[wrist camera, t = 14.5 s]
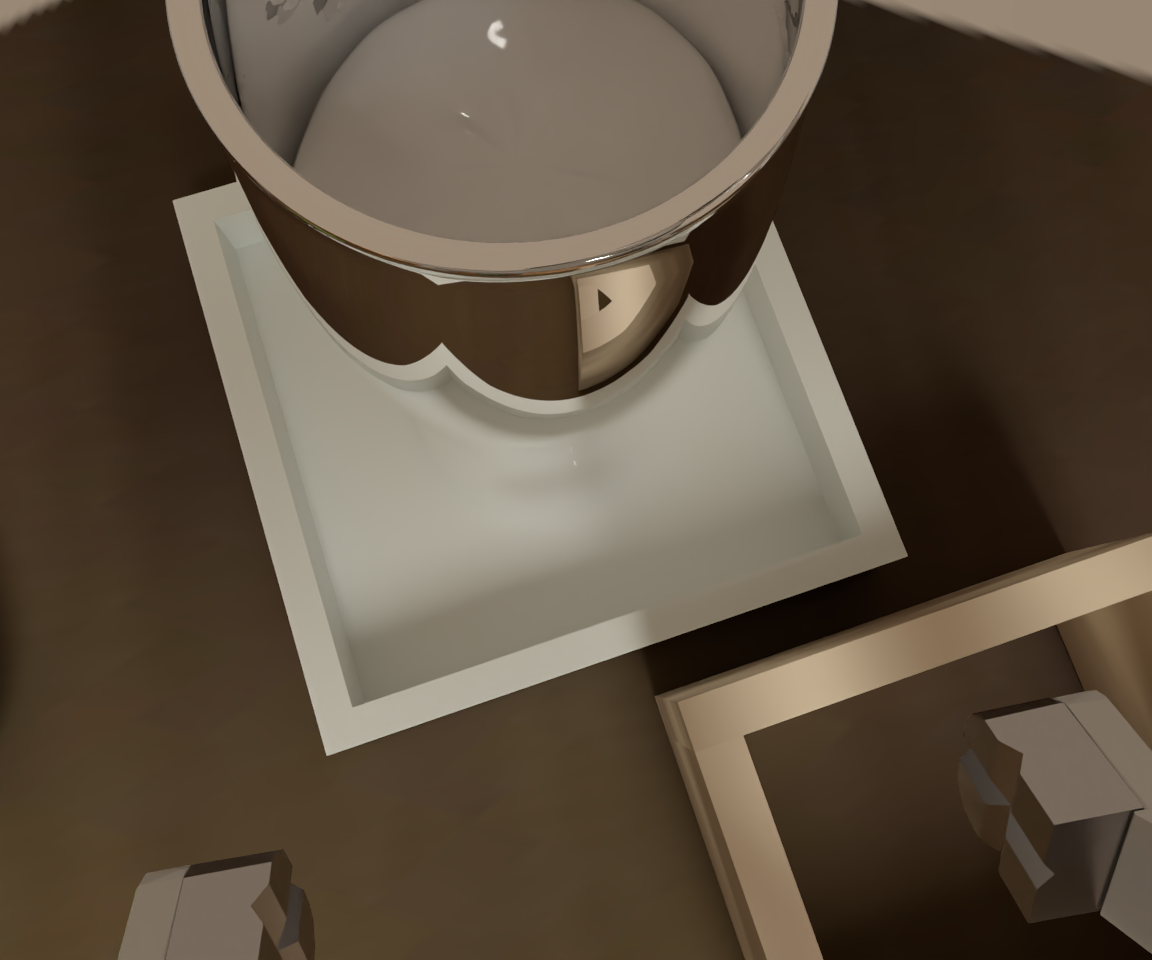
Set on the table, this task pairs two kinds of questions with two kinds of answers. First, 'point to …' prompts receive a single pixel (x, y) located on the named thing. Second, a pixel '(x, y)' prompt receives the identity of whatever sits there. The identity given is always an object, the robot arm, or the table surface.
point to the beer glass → (512, 201)
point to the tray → (523, 540)
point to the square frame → (873, 659)
